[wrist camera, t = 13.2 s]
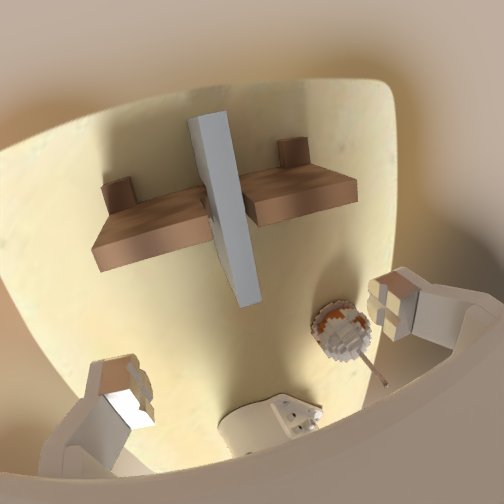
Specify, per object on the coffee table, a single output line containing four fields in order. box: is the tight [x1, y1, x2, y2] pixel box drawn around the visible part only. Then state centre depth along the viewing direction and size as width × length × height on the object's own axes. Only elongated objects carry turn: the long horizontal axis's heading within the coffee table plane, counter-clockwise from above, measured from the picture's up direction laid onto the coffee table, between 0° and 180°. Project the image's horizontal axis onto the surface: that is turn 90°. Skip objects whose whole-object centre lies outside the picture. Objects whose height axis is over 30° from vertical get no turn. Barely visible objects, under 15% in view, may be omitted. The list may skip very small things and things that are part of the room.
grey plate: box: [187, 111, 262, 308], centre depth 26 cm, size 16×2×10 cm, turn 10°
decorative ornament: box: [311, 300, 389, 388], centre depth 37 cm, size 8×8×15 cm
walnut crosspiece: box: [91, 137, 358, 272], centre depth 26 cm, size 22×8×10 cm, turn 100°
